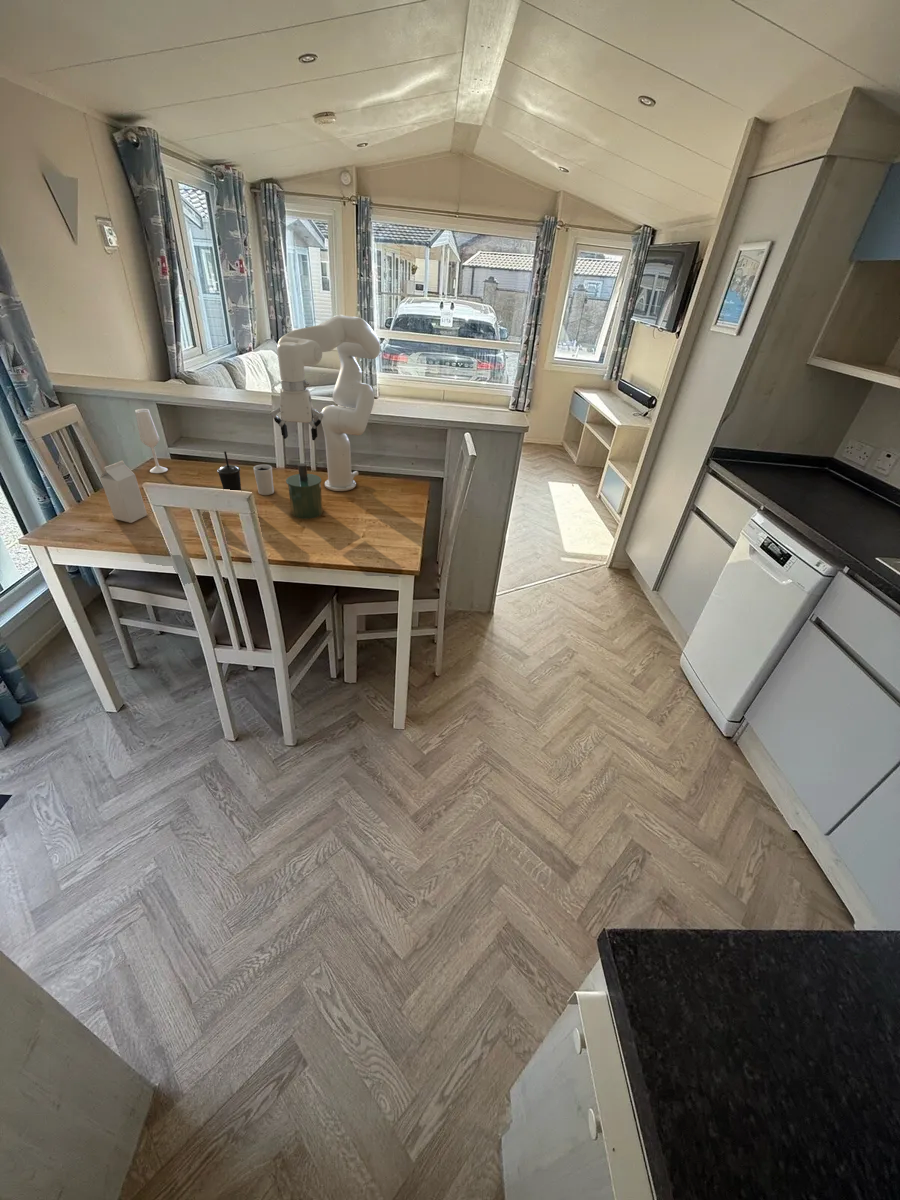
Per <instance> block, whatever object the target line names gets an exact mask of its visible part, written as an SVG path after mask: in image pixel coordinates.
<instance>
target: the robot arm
mask: <svg viewBox="0 0 900 1200" xmlns="http://www.w3.org/2000/svg"><path fill="white" fill-rule="evenodd" d="M334 349H336V351H337V355H338V359H339V364H340V367H339V372H338V375H337V378H336V382H335V385H334V388H333V390H332V401H333V402H334V404H335V405H334V404H332V405H331V404H330V405H326V406H325V407H323V408H322V410H321V411H318V410H317V409H315V408H314V405H313V401H312V396H311V392H310V389H309V388H310V387H311V382H308V381H307V379H306V376H305V367H312V366H316V365H318V364H319V363H320V362H321V360H322V358H323V353H328V352H331V351H333V350H334ZM276 353H277V361H278V367H279V376H280V383H281V388H280V390H279V407H278V408H275V409H274V410H272V411H270V412H269V413H270V415H271V418H273V420H274V422H275V423H276V424H277V425H278V426H279V428H280V434H281V436H282V437H283V439H284V440H286V439H287V438H288V437H289V434H288V426H287V424H286V422H287V423H303V424H307V423H308V424H309V426H311V429H310V432H311V440H312V441H315V440H316V439H317V438H318V427H319V425H320V424H321V426H322V427H321V428H322V431H323V435H324V443H325V455H326V457H325V458H326V468H327V479H326V480H325V481H324V487H325V488H326V489H327V490H329V491H335V492H347V491H350V490H353V489H354V488H356V486H357V482H356V481H355V479H354V478H355V477H358V476H359V471H358V470H354V471H353V472H352V456H351V455H352V453H351V442H350V439H349V436H348V435H351V436H362V435H363V434H364V433H365V432H366V429H367V426H368V423H369V420H370V417H371V415H372V414H371V413H372V410H373V407H374V403H375V392H374V389H373V387H372V386H371V385H370V384H368V383H365V382H361V380H362V378H363V372H362V371H363V370H362V369H361V367H360V365H359V363H358V361H357V359H356V358H360V359H366V360H367V359H368V360H374V359H376V358H378V357H379V355H380V353H381V342H380V339H379V336H378V335H377V333H376V332H375V331H374V330H373V328H372V327H371V326H370V324H369V323H368V322H367V321H366V320H365V319H363V318H362V317H359V316H353V315H352V316H351V315H344V314H337V315H336V314H335V315H333V316H332V317H330V318H328V319H326V320H325V321H322V322H321V323H320V324H316V325H312V326H307V327H303V328H299V329H294V330H291V331H288V332H287V333H285V334H284V335H282V336H281V337H280V338H279V340H278V341H277V344H276ZM278 414H280V417H281V418H280V417H279V416H278ZM315 416H316V417H317V420H316V421H315Z"/></svg>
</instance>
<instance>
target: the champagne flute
mask: <svg viewBox="0 0 900 1200" xmlns="http://www.w3.org/2000/svg"><path fill="white" fill-rule="evenodd" d="M134 413H135V417H136V422H137V427H138V433H139V438H140V442H141V443H143V444H144V445H145V446H147V447H149V448H150V449H151V450H150V451H151V453H152V456H153V461H154V464H155V466H154V467H152V468H151V469H150V470H149V472H150V473H152V474H162V473H166V472H167V471H168V470H169V469H168V468H167V467H164V466H161V465H160V464H159V460H158V457H157V453H156V449H155V448H156V446H157V445H158V443H159V442H160V436H159V433H158V430H157V427H156V426H155V425H156V424H155V423H154V420H153V417H152V414H151V412H150V409H149V408H139V409H135V411H134Z"/></svg>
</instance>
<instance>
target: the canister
mask: <svg viewBox="0 0 900 1200" xmlns="http://www.w3.org/2000/svg"><path fill="white" fill-rule="evenodd" d="M321 485H322V484H321V483H320V484H318V485H316V486H313V487H308V488H297V487H292V486H290V485H288V484H287V487H288V495H289V502H290V503H289V505H290V510H291V511H290V512H291V515H292V516H293V517H294V518H297V519H302V520H310V519H315V518H318V517H320V516H322V514H323V513H324V509H323V508H324V507H323V498H322V497H323V496H322V486H321Z"/></svg>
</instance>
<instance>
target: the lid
mask: <svg viewBox="0 0 900 1200" xmlns="http://www.w3.org/2000/svg"><path fill="white" fill-rule="evenodd" d="M307 468H308V467H307V463H305V462H303V463H302V462H301V463H298V464H297V469H298V473H296V474H293V475H290V476H287V478H286V479H285V483H286V484H287V486H288V485H290V486H292V487H297V488H308V487H313V486H316V485H318V484H321V483H322V478H321V477H320V476H319V475H317V474H313V473H308V469H307Z"/></svg>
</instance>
